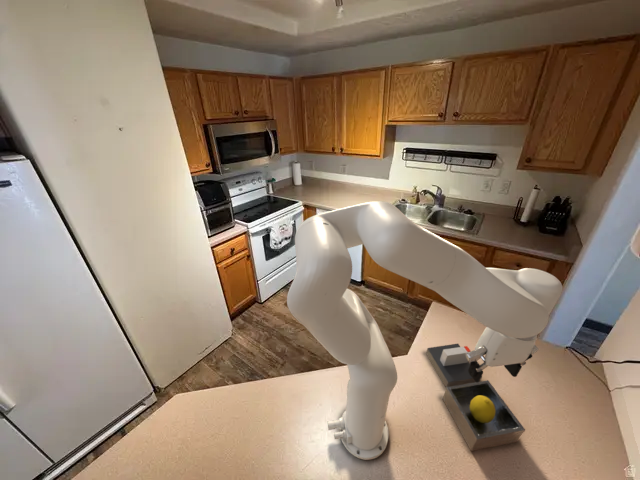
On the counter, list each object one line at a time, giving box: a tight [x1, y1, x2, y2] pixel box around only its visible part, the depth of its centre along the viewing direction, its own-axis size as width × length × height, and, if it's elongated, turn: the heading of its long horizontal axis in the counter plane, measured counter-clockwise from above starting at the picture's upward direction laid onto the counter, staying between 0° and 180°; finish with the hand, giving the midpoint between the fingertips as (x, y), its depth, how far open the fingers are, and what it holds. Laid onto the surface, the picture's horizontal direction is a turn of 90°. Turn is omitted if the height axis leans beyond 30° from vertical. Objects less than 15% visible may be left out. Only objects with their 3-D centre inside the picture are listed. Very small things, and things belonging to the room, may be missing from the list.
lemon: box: [470, 395, 495, 423], centre depth 67 cm, size 6×6×8 cm
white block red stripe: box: [440, 345, 472, 366], centre depth 80 cm, size 8×2×5 cm, turn 98°
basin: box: [442, 379, 526, 452], centre depth 68 cm, size 13×13×6 cm
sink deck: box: [425, 343, 483, 389], centre depth 82 cm, size 11×12×3 cm
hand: (491, 373), depth 63 cm, fingers open, 9 cm apart
